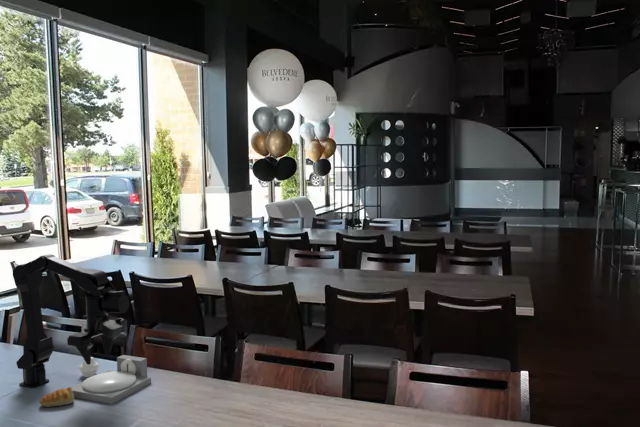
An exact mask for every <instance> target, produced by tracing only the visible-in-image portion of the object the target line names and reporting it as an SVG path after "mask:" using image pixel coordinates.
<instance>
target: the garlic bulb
mask: <svg viewBox="0 0 640 427" xmlns="http://www.w3.org/2000/svg"><path fill="white" fill-rule="evenodd" d="M99 366H100V364H99V363H98V362H97V361H96V360H95V358H94V357H93V356H91V363H90V364H87V363H86V362H85V360H84V359H83V361H82V363H81V364H80V365H79V371H80V373H81V374H82V376H83V377H84V378H89V377H92V376H94V375H97V373H98V370H99Z"/></svg>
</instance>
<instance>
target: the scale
mask: <svg viewBox="0 0 640 427" xmlns="http://www.w3.org/2000/svg"><path fill="white" fill-rule="evenodd" d="M116 370H117V371H111V370H106V371H104V372H102V373H98V374H97V373H96V374H95V375H94V376H92V377H86V378H85V380H84V381H81V382H80V383H78V384H75V385H72V386H71V387H72V390H73V394H74V398H76V399H77V398H78V399H83V400H88V401H94V402H98V403H99V402H100V403H105V404H109V405H113V404H115V403H117V402H118V401H121V400H123V399H124V398H126V397H128V396H131V395H132V394H134V393H135V392H138V391H139V390H141V389H142V388H144V387H146V386H148V385H149V384H151V383H152V377H150V376H148V360H147V358H146V357H140V356H139V357H138V356H133V355H125V354H122V355H120V356H118V357H116Z"/></svg>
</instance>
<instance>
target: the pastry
mask: <svg viewBox="0 0 640 427" xmlns="http://www.w3.org/2000/svg"><path fill="white" fill-rule="evenodd" d="M72 387H73V386H68V387H66V388H58V389H56V390H54V391H52V392H50V393H47V394H46V395H44V396H42V397H41V398H40V400H39V405H41V406H43V407H46V408H50V407H57V406H59V407H61V406H63V405H69V404H72V403H74V401H75V397H74V394H73V390H72Z"/></svg>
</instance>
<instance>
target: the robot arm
mask: <svg viewBox="0 0 640 427" xmlns="http://www.w3.org/2000/svg"><path fill="white" fill-rule="evenodd" d="M47 271H50V272H52V273H54V274H57V275H60V276H62V277H64V278H66V279H68V280H71V281H73V282H75V283H76V285H77V286H78V287H79V288H80V289H82V290H83V292H82V293H80V294H79V296H78V297H79V298H80V299H81V298H82V299H85V311H86V313H85V314H86V315H83V320H86V327H85V328H84V329H83V332H84V333H82V332H76V333H73V334H70V335H68V337H67V339H66V341H67V346H72V347H75V348H76V349H77V350H78V352H79V353H80V356H81V357H82V358H83V360H85V362H86V363H87V364H90V363H91V357H92V354H91V353H92V347H93V346H94V343H92V339H95V338H97V337H100V336H101V337H100V338H101V341H102V342H101V343H102V347H103V351H104V354H105V357H106V358H107V357H108V358H109V357H110V355H111V353H112V352H111V351H112V348H113V345H114V342H115V340H116V339H117V338H118V337H119V336H120V335H121V334H122V333H124V332H125V331H126V329H125V326H126V325H125V324H126V323H125V319H124V318H122V317H119V318H116V319H111V316H110V313H113V314H126V312H127V311H128V310H129V307H130V298H129V296H128V295H127V294H126V292H125V290H118V291H117V290H116V287H114V285H113V284H112V282H111V281H110V279H109V278H108V276H107V272H105V271H104V270H101V269H95V268H86V267H85V268H84V267H81V266H79V265H77V264H75V263H72V262H70V261H67V260H65V259H62V258H61V257H60V258H59V257H57V256H55V255H54V254H51V253H50V254H44V255H40V256H39V257H37V258H35V259H33V260H31V261H29V262H27V263H22V264H18V265H16V266H15V267H14V268H13V270H12V278H13V281H14V284H15V286H16V287H17V288H18V290H19V291H20V292H21V296H22V306H23V311H24V312H23V313H24V320H25V328H26V334H27V335H26V338H25V341H24V344H23V353H22V356H20V357H19V359H18V360H17V361H16V363H15V364H16V366H17V368H18V369H20V370H22V379H23V381H21V382H20V383H19V386H23V387H27V388H36V387H39V386H40V385H43V384H46V383H48V382H50V379H48V378H46V377H47V375H46V368H45V367H46V366H45V363H47V362H49V361H50V359H51V358H50V357H51V356H52V355H53V351H54V350H53V349H55V347H54V344H53V337H52V336H48V335H47V334H46V333H45V328H44V321H43V320H44V319H43V313H42V312H43V311H42V306H41V299H40V298H41V297H40V286H41V284H42V281H43V274H44V273H45V272H47Z"/></svg>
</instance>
